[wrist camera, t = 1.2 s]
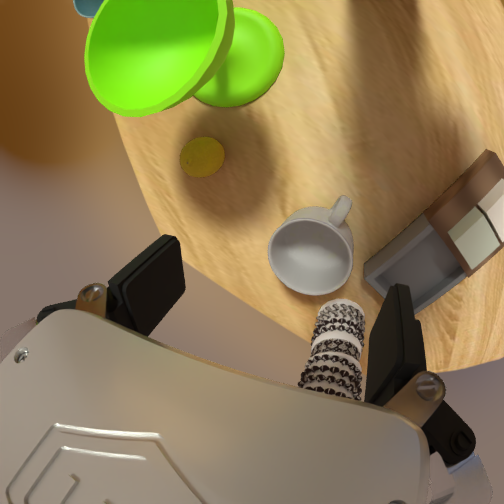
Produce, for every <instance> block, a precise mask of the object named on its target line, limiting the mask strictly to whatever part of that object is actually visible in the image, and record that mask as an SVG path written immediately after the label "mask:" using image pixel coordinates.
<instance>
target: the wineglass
mask: <svg viewBox="0 0 504 504" xmlns="http://www.w3.org/2000/svg"><path fill="white" fill-rule="evenodd" d="M284 54H285V53H284V45H283V39H282V37H281V35H280V33H279V31H278V29H277V27H276V26H275V25H274V24H273V23H272V22H271V21H270V20H269V19H268V18H267V17H266V16H264V15H262V14H260V13H259V12H257V11H254V10H250V9H246V8H233V1H232V0H104V2H103V3H102V4H101V6H100V8H99V10H98V11H97V13H96V15H95V17H94V19H93V21H92V24H91V27H90V30H89V33H88V36H87V40H86V47H85V55H84V57H85V71H86V76H87V79H88V82H89V86H90V88H91V90H92V91H93V93H94V95H95V96H96V98H97V100H98V101H99V102H100V103H101V104H102V105H104V106H105V107H106V108H107V109H108V110H109V111H111V112H114V113H117V114H119V115H122V116H127V117H143V116H146V115H150V114H153V113H157V112H160V111H163V110H166V109H169V108H172V107H174V106H176V105H178V104H180V103H181V102H183V101H185V100H187V99H189V98H190V97H192V96H193V95H194V96H195V97H196V98H198V99H199V100H200V101H202V102H204V103H207V104H210V105H212V106H218V107H226V108H227V107H234V106H241V105H243V104H246V103H248V102H251V101H253V100H255V99H256V98H258V97H259V96H261V95H262V94H264V93H265V92H266V91H267V90H268V89H269V88H270V87H271V85H272V84H273V83H274V82H275V81H276V79H277V77H278V75H279V73H280V71H281V69H282V65H283V59H284Z"/></svg>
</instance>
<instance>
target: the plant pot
mask: <svg viewBox="0 0 504 504" xmlns="http://www.w3.org/2000/svg"><path fill="white" fill-rule="evenodd" d="M103 2H104V0H73V3H74V7H75V9H76V11H77V12H78V14H79V15H81V16H83V17H86V18H94V17H95V15H96V13H97V11H98V10H99V8H100V6H101V4H102V3H103Z"/></svg>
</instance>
